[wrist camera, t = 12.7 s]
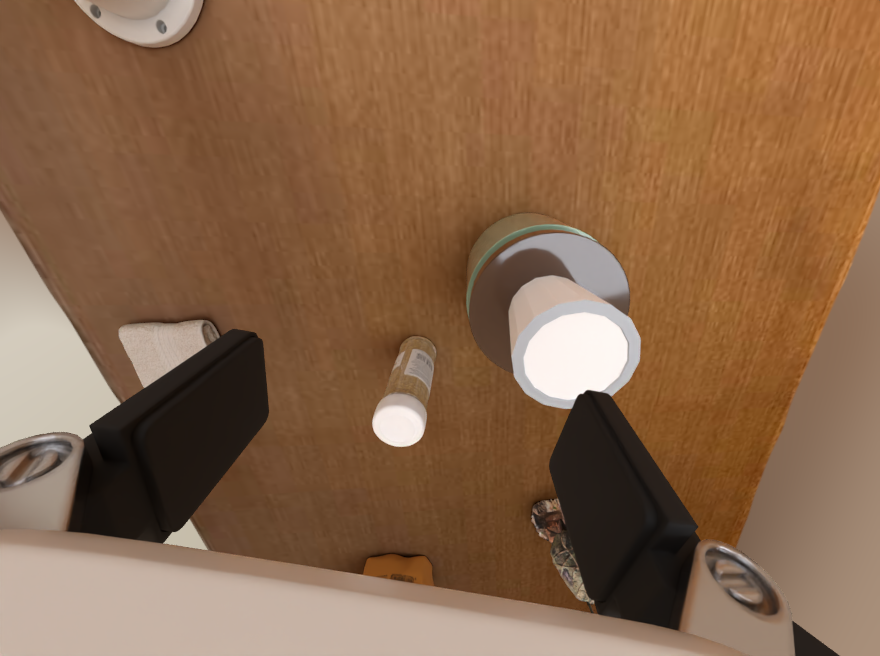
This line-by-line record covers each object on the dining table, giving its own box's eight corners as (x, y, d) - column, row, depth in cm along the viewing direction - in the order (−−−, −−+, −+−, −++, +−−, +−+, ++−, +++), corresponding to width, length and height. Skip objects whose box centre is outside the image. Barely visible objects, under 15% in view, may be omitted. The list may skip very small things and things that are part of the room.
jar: (452, 234, 34) (445, 259, 23) (572, 195, 31) (625, 204, 21) (482, 335, 38) (488, 394, 28) (589, 307, 36) (640, 361, 25)
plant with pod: (593, 488, 47) (673, 684, 29) (576, 538, 52) (636, 734, 33) (536, 483, 47) (579, 673, 29) (524, 533, 52) (555, 723, 34)
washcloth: (185, 431, 48) (167, 447, 45) (126, 319, 41) (101, 330, 38) (260, 430, 47) (247, 446, 44) (214, 315, 40) (195, 325, 37)
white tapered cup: (503, 266, 23) (517, 299, 17) (603, 266, 22) (657, 301, 16) (497, 351, 26) (507, 408, 19) (586, 353, 25) (626, 412, 19)
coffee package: (438, 586, 60) (424, 790, 40) (373, 584, 61) (327, 780, 41) (433, 552, 56) (414, 760, 36) (363, 550, 57) (307, 750, 37)
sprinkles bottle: (393, 343, 39) (360, 417, 27) (426, 329, 38) (408, 399, 26) (411, 372, 41) (387, 455, 29) (444, 360, 40) (433, 440, 28)
